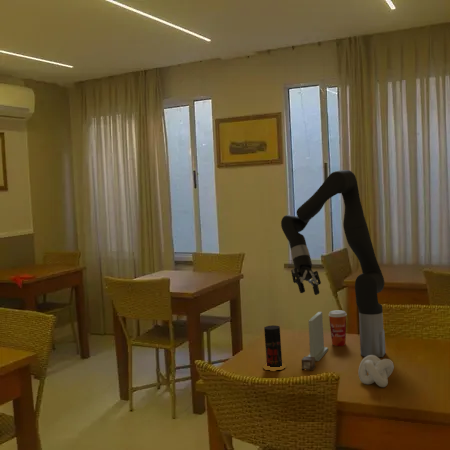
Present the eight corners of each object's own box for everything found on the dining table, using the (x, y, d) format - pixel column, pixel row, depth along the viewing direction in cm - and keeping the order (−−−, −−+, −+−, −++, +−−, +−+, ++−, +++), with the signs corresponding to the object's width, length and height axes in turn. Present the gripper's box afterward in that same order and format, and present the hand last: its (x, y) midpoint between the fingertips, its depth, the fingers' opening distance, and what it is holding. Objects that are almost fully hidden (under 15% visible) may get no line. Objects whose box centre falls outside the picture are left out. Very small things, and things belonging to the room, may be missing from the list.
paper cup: (328, 346, 239) (327, 314, 238) (330, 341, 246) (329, 309, 245) (347, 347, 237) (346, 314, 236) (349, 341, 244) (347, 309, 243)
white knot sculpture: (350, 384, 194) (349, 359, 193) (369, 375, 202) (368, 350, 202) (380, 392, 186) (379, 365, 185) (398, 381, 194) (397, 356, 194)
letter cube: (315, 367, 214) (314, 357, 214) (312, 371, 210) (311, 360, 210) (305, 366, 216) (304, 356, 216) (301, 370, 212) (301, 359, 212)
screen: (328, 349, 234) (326, 312, 233) (318, 361, 221) (316, 321, 220) (316, 349, 236) (314, 311, 235) (306, 360, 223) (304, 320, 222)
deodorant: (264, 365, 218) (261, 327, 217) (277, 362, 221) (274, 324, 220) (271, 369, 213) (269, 330, 212) (285, 366, 215) (282, 327, 214)
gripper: (295, 252, 233) (304, 288, 226) (318, 256, 241) (328, 291, 234) (283, 259, 238) (291, 295, 230) (306, 263, 246) (315, 298, 239)
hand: (310, 293), depth 232 cm, fingers open, 8 cm apart
